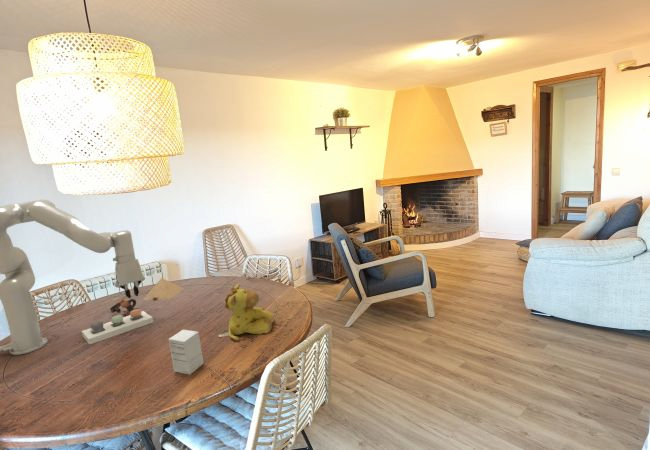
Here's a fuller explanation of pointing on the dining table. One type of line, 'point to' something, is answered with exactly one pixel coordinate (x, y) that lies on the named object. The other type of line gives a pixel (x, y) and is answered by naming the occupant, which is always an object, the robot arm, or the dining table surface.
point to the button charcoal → (97, 326)
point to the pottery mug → (124, 306)
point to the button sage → (117, 320)
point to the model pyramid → (163, 290)
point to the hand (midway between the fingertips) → (132, 296)
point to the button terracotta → (136, 314)
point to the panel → (116, 328)
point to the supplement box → (186, 351)
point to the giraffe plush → (246, 313)
